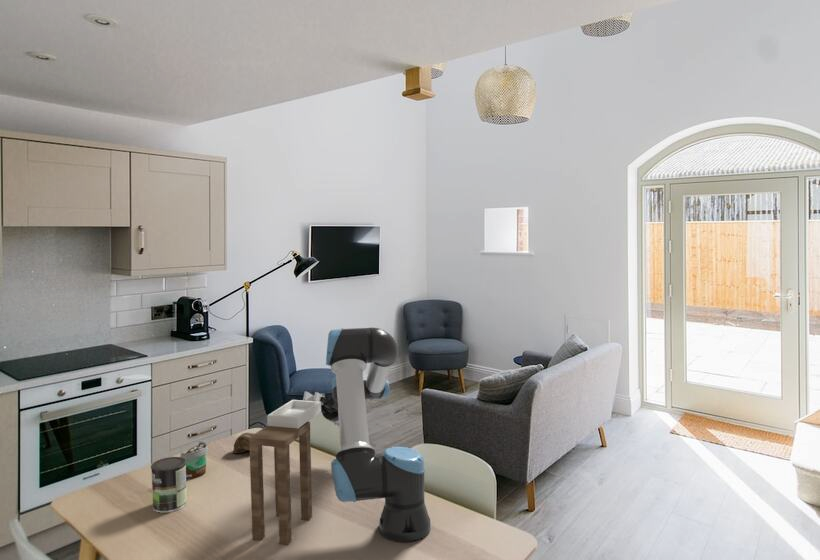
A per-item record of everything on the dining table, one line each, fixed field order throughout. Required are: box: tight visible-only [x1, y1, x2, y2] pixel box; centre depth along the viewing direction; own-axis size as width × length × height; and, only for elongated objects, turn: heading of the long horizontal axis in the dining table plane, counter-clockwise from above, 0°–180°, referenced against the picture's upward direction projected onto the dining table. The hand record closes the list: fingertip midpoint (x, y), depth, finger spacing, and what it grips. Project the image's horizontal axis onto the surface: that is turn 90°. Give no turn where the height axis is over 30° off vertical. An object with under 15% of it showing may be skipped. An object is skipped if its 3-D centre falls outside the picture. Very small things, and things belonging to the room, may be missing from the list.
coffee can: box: [150, 456, 188, 514], centre depth 172 cm, size 10×10×14 cm
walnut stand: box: [249, 421, 313, 546], centre depth 157 cm, size 16×11×30 cm
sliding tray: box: [266, 392, 326, 429], centre depth 170 cm, size 27×10×3 cm, turn 165°
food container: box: [179, 441, 209, 480], centre depth 195 cm, size 12×6×10 cm, turn 168°
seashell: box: [232, 431, 255, 454], centre depth 216 cm, size 11×9×8 cm
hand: (310, 395), depth 175 cm, fingers closed on sliding tray, 3 cm apart
